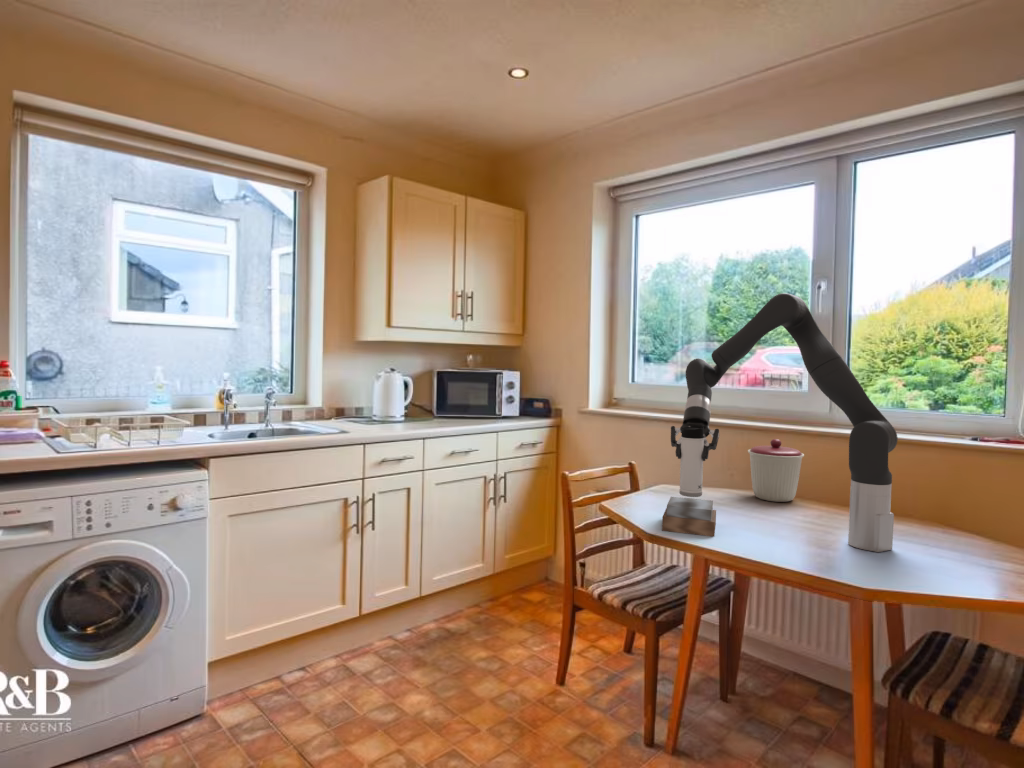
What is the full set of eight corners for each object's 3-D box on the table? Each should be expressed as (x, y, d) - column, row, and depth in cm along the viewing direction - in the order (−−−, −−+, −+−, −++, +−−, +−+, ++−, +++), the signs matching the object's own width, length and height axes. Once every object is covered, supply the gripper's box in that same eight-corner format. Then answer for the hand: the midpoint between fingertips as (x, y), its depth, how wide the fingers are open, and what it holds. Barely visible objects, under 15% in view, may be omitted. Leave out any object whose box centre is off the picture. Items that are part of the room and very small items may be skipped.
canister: (752, 490, 226) (754, 434, 225) (806, 497, 215) (808, 438, 214) (740, 499, 211) (742, 439, 210) (797, 508, 201) (799, 444, 199)
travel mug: (706, 497, 172) (708, 427, 171) (682, 497, 172) (684, 426, 171) (699, 492, 178) (701, 424, 177) (677, 491, 179) (679, 424, 177)
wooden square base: (715, 523, 180) (716, 500, 180) (714, 536, 167) (715, 511, 166) (667, 518, 185) (667, 495, 184) (662, 530, 171) (662, 506, 171)
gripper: (671, 404, 184) (664, 448, 173) (722, 406, 178) (717, 452, 168) (673, 419, 189) (666, 463, 179) (722, 422, 183) (718, 468, 173)
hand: (691, 458), depth 173 cm, fingers closed on travel mug, 6 cm apart
